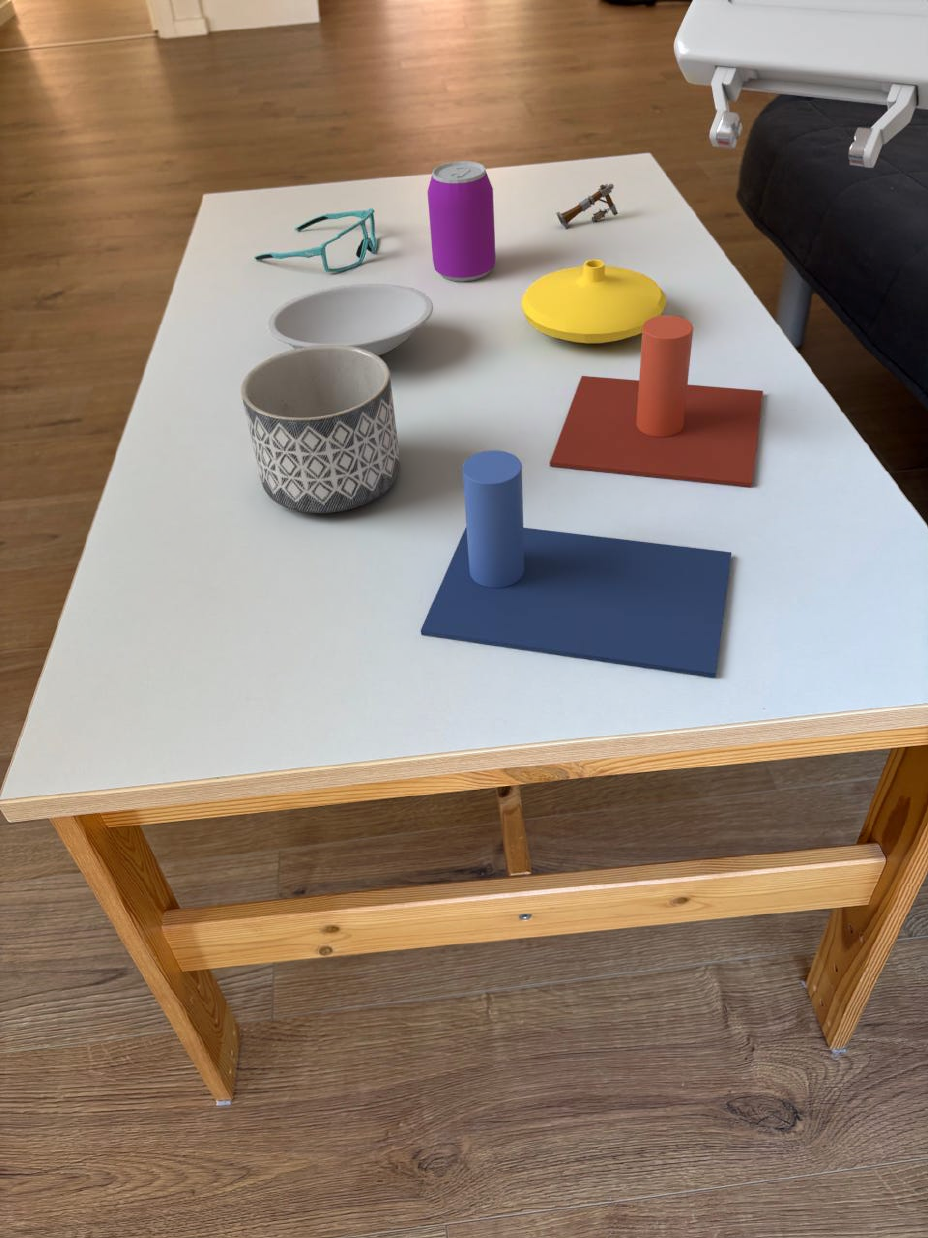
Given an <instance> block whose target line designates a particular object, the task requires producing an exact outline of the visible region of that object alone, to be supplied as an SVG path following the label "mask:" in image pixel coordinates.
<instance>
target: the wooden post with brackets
mask: <svg viewBox="0 0 928 1238" xmlns="http://www.w3.org/2000/svg"><path fill="white" fill-rule="evenodd" d="M614 186H615V185H614V184H613V183H605V184H601V185H599V188H598V189H597V191H596V192H594V193H593V194H592V195H589V196H587V197H585V198H584V199H583V200H582V201H580V202H578V205H575V206H574V207H572V208H570V209H568V210H566V211H564V212H560V211H557V212H555V214H556V216H557V219H558V221H559V223H560V225H561V226H562V227H563V228H564V229H565V230H566V229H568V227H569V226H568V224H569V223H570V222H571V221H572V220H573V219H575V218H576V217H577V216H578V215H579V214H581V213H582V212H585V211H587V210H588V209H590V208H592V206H595V205H596V203H597V202H602V203H605V204H607V205H608V208H604V209H603V210H602V209H601V208H599V211H596V212H595V213H592V215H593V216H592V217H591V222H593V223H594V222H597V223H599V221H600V220H602V219H606V215H608V213H609V211H610V212H611V214H612V215H613V216H617V215H618V214H619V212H618V210H617V206H616V204H615V203H614V202H613V199H612V197H611V195H610V194H611V193H613V191H612V190H613V189H614ZM602 198H605V200H604V199H602Z"/></svg>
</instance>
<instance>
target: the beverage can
mask: <svg viewBox="0 0 928 1238" xmlns="http://www.w3.org/2000/svg"><path fill="white" fill-rule="evenodd" d="M431 173H432V174H431V177H430V180H429V184H428V188H427V203H428V212H429V213H428V215H429V217H428V218H429V227H430V238H431V239H430V241H431V253H432V263H433V267H434V271H435V272H437V273H438V274H439V275H440V276H441V277H442V278H443V279H446V280H448V281H453V282H472V281H476V280H479V279H481V278H484V277H486V276H487V275H488V274H489V273H490V272H491V271H492V270H493V269H494V267H495V265H496V234H495V233H496V232H495V210H494V188H493V185H492V182H491V180H490V178H489V175H488V173H487V169H486V167H485V165H483V164H482V163H479V162H476V161H469V160H459V161H458V160H457V161H450V162H444V163H443V164H440V165H438V166H435V168H433V170H432V172H431Z"/></svg>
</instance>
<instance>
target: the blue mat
mask: <svg viewBox="0 0 928 1238" xmlns="http://www.w3.org/2000/svg"><path fill="white" fill-rule="evenodd" d="M523 537H524V573H523V575H522V577H521V578H520V579H519V580H518V581H517V582H516V583H514V584H512V585H510V586H507V587H502V588H490V587H485V586H482V585H480V584H478V583H476V582H475V581H474V580H473V579H472V577H471V575H470V570H469V556H468V542H467V527H466V526H465V528H464V530H463V533H462V535H461V536H460V539H459V541H458V544H457V547H456V548H455V551H454V553H453V556H452V558H451V560H450V562H449V564H448V567H447V568H446V571H445V574H444V575H443V578H442V581H441V583H440V584H439V588H438V590H437V591H436V594H435V597H434V599H433V601H432V604H431V606H430V607H429V610H428V612H427V615H426V617H425V619H424V621H423V624H422V626H421V629H420V635H422V636H429V637H433V638H434V637H435V638H442V639H448V640H454V641H455V640H456V641H462V642H469V643H475V644H483V645H490V646H497V647H502V648H509V649H516V650H523V651H529V652H537V653H544V654H551V655H556V656H563V657H570V658H578V659H584V660H590V661H598V662H604V663H611V664H618V665H623V666H624V665H625V666H631V667H637V668H638V667H639V668H645V669H652V670H659V671H664V672H670V673H671V672H672V673H678V674H685V675H686V674H687V675H692V676H700V677H706V678H713V679H715V678H716V676H717V669H718V660H719V654H720V647H721V638H722V629H723V623H724V616H725V615H724V614H725V607H726V599H727V591H728V583H729V577H730V576H729V575H730V569H731V561H732V552H731V551H726V550H725V551H723V550H716V549H709V548H708V549H707V548H699V547H690V546H681V545H674V544H673V545H672V544H666V543H665V544H664V543H656V542H650V541H640V540H632V539H623V538H617V537H616V538H615V537H606V536H598V535H591V534H590V535H589V534H581V533H574V532H564V531H555V530H546V529H538V528H532V527H523Z"/></svg>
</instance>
